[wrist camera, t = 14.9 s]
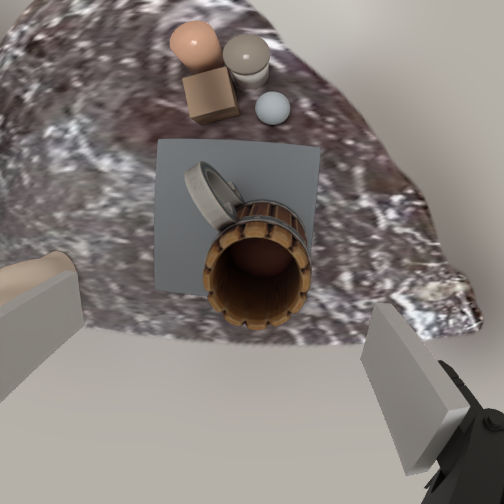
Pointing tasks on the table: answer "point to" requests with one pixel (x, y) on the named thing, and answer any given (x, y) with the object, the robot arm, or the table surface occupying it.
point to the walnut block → (211, 96)
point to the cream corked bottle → (31, 274)
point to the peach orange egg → (197, 47)
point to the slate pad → (246, 181)
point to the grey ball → (272, 108)
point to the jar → (248, 60)
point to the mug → (250, 253)
